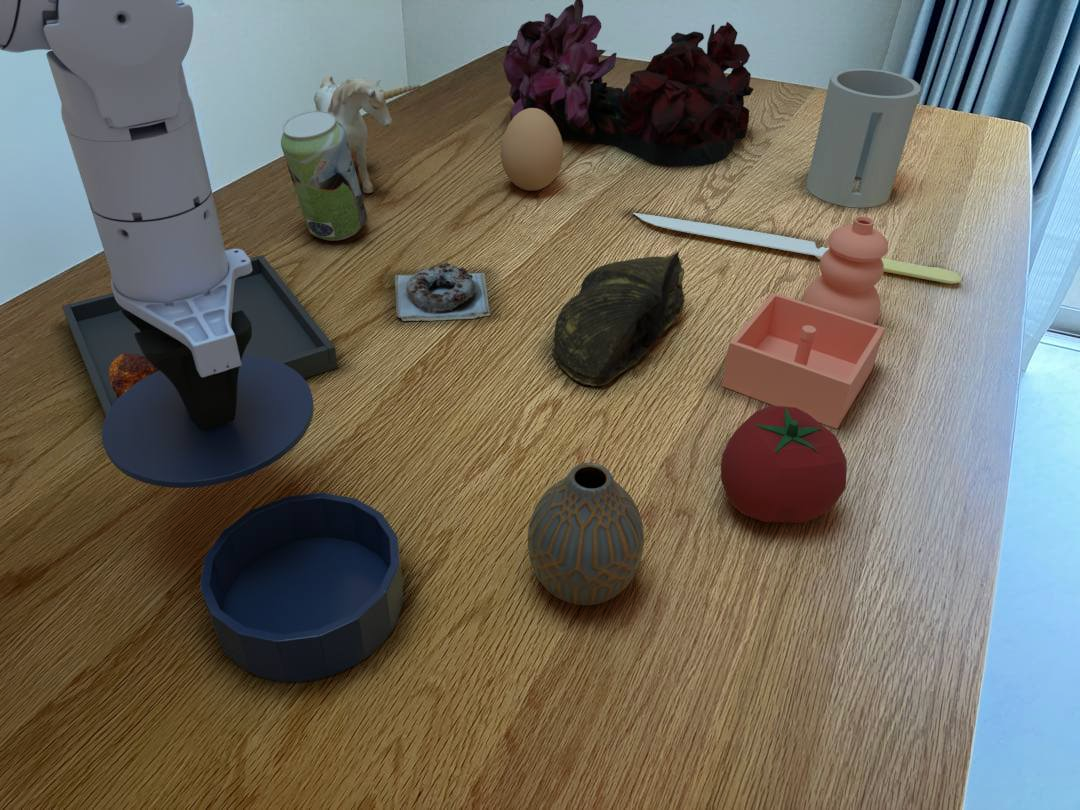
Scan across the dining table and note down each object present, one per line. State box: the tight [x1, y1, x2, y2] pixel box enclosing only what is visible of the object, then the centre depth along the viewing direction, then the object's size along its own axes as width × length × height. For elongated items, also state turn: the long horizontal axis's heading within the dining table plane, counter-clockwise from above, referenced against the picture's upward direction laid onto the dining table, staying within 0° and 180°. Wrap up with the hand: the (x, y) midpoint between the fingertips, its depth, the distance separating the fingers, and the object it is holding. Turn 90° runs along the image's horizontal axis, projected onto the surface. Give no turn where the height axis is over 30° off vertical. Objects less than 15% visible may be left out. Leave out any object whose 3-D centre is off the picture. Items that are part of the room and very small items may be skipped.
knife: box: [632, 212, 963, 285], centre depth 89 cm, size 1×33×5 cm
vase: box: [527, 462, 645, 606], centre depth 52 cm, size 7×7×9 cm
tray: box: [61, 254, 338, 417], centre depth 73 cm, size 17×17×2 cm
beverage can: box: [280, 110, 368, 242], centre depth 86 cm, size 6×7×12 cm
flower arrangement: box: [502, 0, 755, 168], centre depth 107 cm, size 31×20×15 cm, turn 76°
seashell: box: [551, 251, 685, 387], centre depth 75 cm, size 16×9×7 cm, turn 149°
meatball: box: [109, 353, 159, 398], centre depth 66 cm, size 4×4×4 cm
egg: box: [500, 108, 564, 192], centre depth 96 cm, size 7×7×9 cm
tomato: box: [720, 405, 848, 524], centre depth 59 cm, size 8×8×7 cm
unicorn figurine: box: [313, 75, 423, 194], centre depth 94 cm, size 7×20×13 cm, turn 37°
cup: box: [805, 67, 922, 209], centre depth 97 cm, size 9×9×12 cm
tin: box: [199, 492, 405, 683], centre depth 52 cm, size 11×11×4 cm
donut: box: [394, 261, 491, 322], centre depth 80 cm, size 8×8×2 cm
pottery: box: [721, 215, 889, 430], centre depth 72 cm, size 18×10×10 cm, turn 147°
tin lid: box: [101, 355, 315, 489], centre depth 52 cm, size 12×12×5 cm
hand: (208, 408), depth 53 cm, fingers closed on tin lid, 2 cm apart
